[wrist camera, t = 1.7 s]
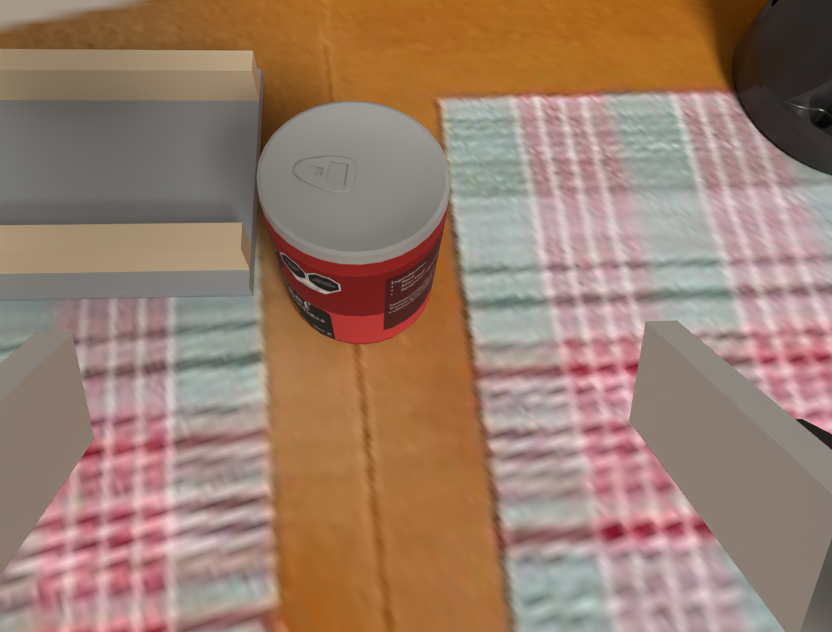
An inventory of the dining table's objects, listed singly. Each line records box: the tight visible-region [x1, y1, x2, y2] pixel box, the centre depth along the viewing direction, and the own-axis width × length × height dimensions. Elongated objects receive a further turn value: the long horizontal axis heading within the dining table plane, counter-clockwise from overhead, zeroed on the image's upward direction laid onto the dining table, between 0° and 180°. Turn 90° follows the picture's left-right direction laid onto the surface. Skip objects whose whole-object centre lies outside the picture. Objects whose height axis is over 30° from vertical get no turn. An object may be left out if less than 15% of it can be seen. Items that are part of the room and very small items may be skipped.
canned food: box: [257, 101, 450, 344], centre depth 31 cm, size 8×8×11 cm
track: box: [0, 49, 264, 300], centre depth 36 cm, size 18×15×4 cm
